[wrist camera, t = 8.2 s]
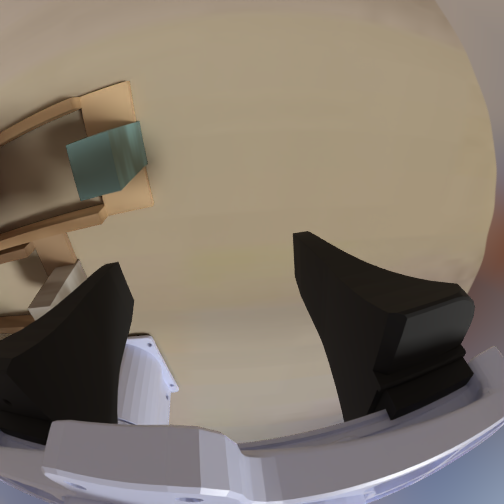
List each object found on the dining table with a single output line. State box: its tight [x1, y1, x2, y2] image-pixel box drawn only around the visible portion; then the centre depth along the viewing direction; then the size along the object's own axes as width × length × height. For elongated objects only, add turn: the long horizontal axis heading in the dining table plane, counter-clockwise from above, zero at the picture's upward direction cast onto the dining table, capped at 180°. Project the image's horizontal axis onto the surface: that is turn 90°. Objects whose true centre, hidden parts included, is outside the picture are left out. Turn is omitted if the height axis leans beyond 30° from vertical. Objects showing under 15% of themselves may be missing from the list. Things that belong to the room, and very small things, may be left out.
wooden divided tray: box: [0, 81, 154, 250], centre depth 14 cm, size 9×20×6 cm, turn 97°
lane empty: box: [0, 233, 87, 333], centre depth 18 cm, size 9×20×6 cm, turn 97°
